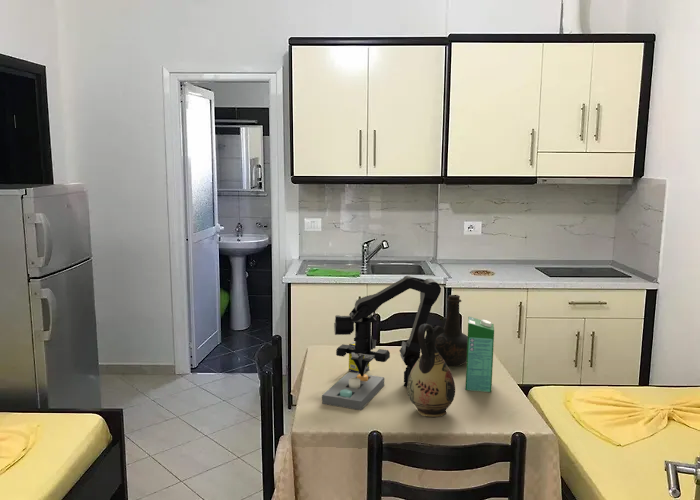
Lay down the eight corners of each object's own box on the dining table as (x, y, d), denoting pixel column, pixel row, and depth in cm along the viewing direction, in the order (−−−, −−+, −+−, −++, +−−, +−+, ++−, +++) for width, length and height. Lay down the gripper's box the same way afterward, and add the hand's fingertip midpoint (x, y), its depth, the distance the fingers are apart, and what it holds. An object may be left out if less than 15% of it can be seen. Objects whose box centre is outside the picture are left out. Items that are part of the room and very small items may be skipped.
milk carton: (491, 392, 213) (494, 324, 210) (465, 390, 215) (468, 322, 211) (490, 383, 222) (493, 317, 218) (465, 381, 224) (468, 315, 220)
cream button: (361, 387, 212) (361, 378, 211) (357, 391, 208) (357, 382, 207) (351, 386, 213) (351, 377, 212) (347, 390, 209) (347, 380, 209)
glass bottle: (419, 361, 245) (421, 294, 241) (447, 352, 257) (449, 288, 253) (454, 373, 232) (456, 302, 228) (481, 363, 244) (484, 295, 239)
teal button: (353, 400, 204) (353, 390, 204) (349, 404, 201) (349, 394, 200) (342, 398, 206) (342, 388, 205) (338, 402, 202) (338, 392, 202)
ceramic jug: (423, 398, 207) (425, 314, 203) (462, 410, 198) (466, 322, 193) (394, 414, 194) (396, 324, 190) (435, 428, 185) (438, 333, 180)
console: (384, 385, 219) (384, 377, 219) (361, 410, 197) (361, 401, 197) (348, 379, 224) (348, 371, 224) (322, 403, 202) (322, 395, 202)
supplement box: (360, 374, 230) (361, 346, 229) (348, 370, 234) (348, 343, 232) (369, 369, 235) (370, 342, 233) (357, 366, 238) (357, 340, 237)
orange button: (369, 384, 219) (369, 375, 219) (365, 387, 215) (365, 378, 215) (359, 382, 221) (359, 373, 220) (355, 386, 217) (355, 377, 216)
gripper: (394, 331, 219) (393, 372, 221) (347, 325, 226) (346, 365, 228) (385, 339, 209) (384, 382, 211) (335, 333, 216) (335, 375, 218)
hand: (362, 375), depth 217 cm, fingers closed
